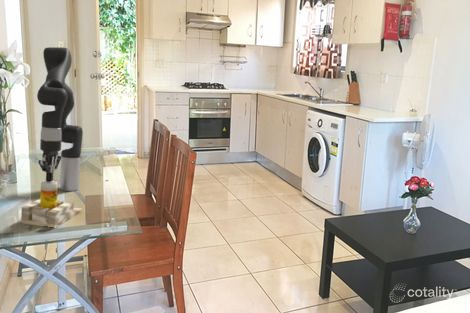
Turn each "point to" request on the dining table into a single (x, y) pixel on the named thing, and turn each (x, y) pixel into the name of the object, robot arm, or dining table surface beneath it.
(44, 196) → the yellow and white bottle
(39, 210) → the jig
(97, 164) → the dining table surface
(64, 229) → the dining table surface
